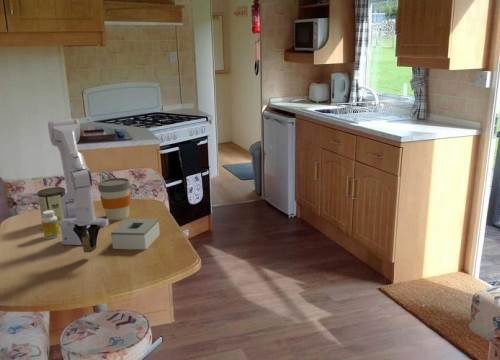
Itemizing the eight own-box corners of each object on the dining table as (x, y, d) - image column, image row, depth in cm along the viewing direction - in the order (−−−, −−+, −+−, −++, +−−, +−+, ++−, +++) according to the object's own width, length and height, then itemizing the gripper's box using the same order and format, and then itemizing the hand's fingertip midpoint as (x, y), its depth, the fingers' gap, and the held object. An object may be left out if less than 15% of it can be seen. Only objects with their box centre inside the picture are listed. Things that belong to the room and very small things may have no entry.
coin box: (113, 248, 167) (111, 232, 166) (129, 233, 181) (127, 218, 179) (145, 249, 165) (144, 233, 164) (159, 234, 179) (158, 219, 177)
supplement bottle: (54, 239, 179) (50, 214, 176) (41, 238, 180) (37, 213, 177) (62, 233, 184) (59, 209, 181) (50, 233, 185) (46, 209, 182)
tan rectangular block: (83, 252, 158) (81, 238, 157) (89, 247, 162) (87, 233, 160) (90, 252, 158) (88, 238, 156) (96, 247, 161) (94, 233, 160)
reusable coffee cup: (109, 211, 208) (105, 177, 204) (137, 211, 206) (134, 177, 202) (97, 221, 196) (92, 186, 192) (126, 221, 194) (122, 185, 190)
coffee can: (59, 218, 202) (54, 185, 198) (75, 221, 197) (70, 188, 193) (37, 226, 194) (31, 192, 190) (53, 230, 188) (47, 195, 185)
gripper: (56, 210, 153) (63, 250, 157) (99, 211, 151) (104, 251, 154) (68, 203, 160) (74, 241, 163) (109, 204, 157) (114, 242, 161)
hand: (89, 245), depth 159 cm, fingers closed on tan rectangular block, 2 cm apart
